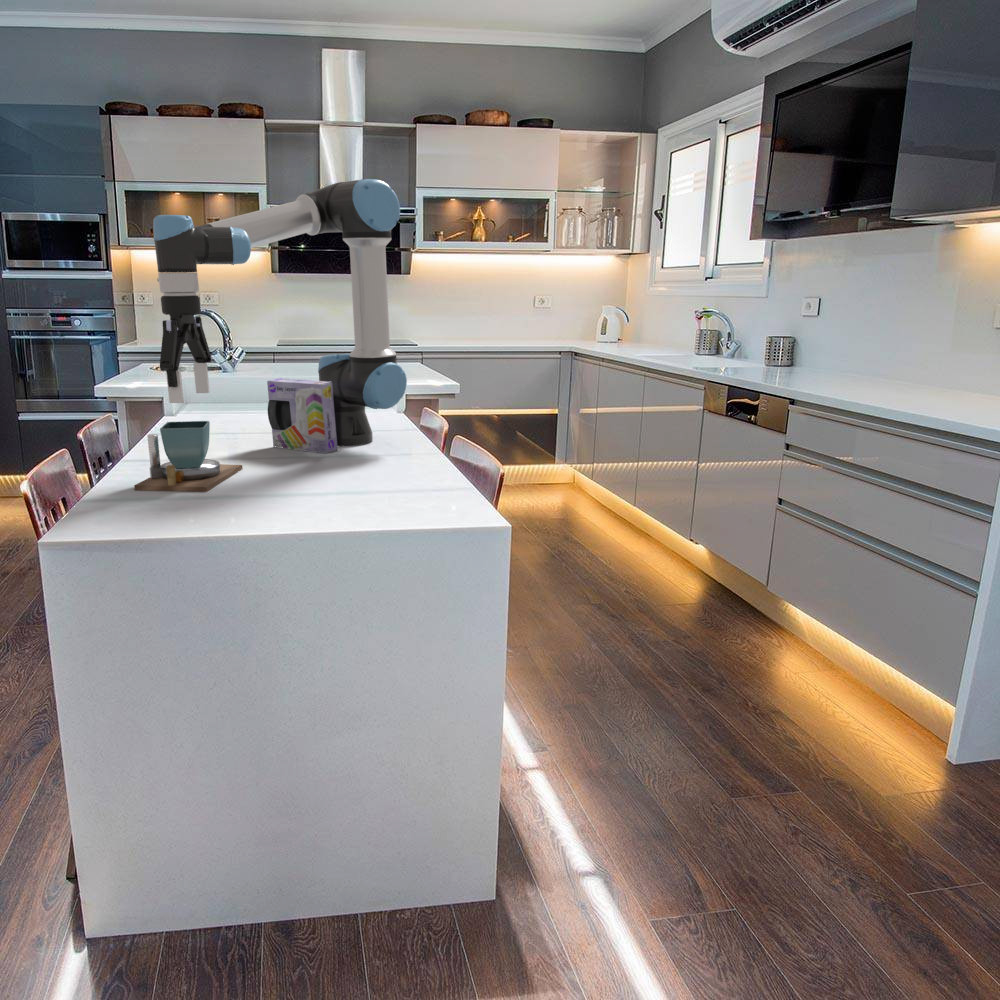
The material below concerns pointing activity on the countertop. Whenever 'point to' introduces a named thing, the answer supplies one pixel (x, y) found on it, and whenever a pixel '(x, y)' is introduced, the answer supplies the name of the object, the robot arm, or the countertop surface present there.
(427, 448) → the countertop surface
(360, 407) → the robot arm
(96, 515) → the countertop surface
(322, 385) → the cake pan box
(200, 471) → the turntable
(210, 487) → the base
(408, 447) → the countertop surface
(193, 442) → the flower pot
